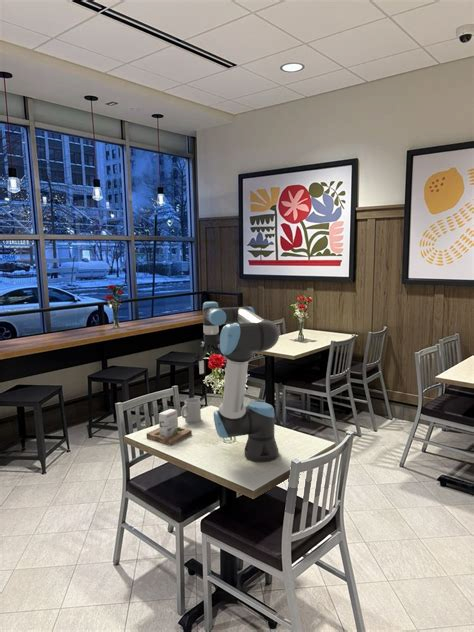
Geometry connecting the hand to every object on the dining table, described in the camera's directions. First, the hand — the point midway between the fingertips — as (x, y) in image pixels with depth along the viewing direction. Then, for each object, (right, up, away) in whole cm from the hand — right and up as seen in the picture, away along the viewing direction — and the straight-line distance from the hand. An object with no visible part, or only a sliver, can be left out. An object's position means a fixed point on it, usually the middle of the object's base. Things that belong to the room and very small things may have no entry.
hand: (212, 375), depth 226 cm
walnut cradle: (-21, -30, -2) cm, 36 cm away
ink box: (-21, -29, -2) cm, 36 cm away
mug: (-13, -27, +18) cm, 35 cm away
